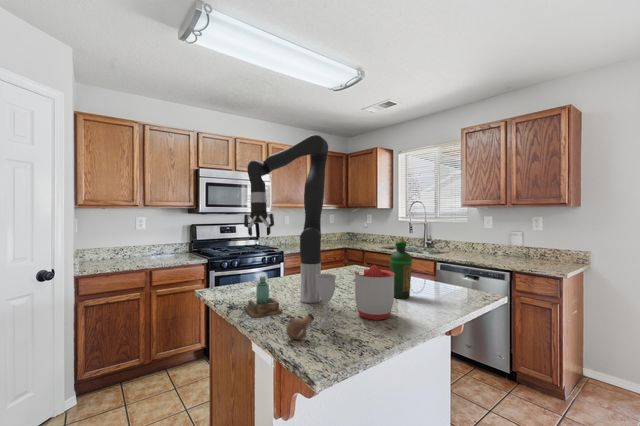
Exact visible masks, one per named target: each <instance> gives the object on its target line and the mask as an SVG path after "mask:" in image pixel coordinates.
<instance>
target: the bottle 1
mask: <svg viewBox="0 0 640 426" xmlns="http://www.w3.org/2000/svg"><path fill="white" fill-rule="evenodd" d="M255 289H256V291H255V293H256V297H255V299H256V300H255V301H256V303H255V304H256V305H260V304H267V303H269V298H270V285H269V283H268V282H267V276H266V275H259V282H258V283H257V284H256V288H255Z"/></svg>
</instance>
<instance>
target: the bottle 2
mask: <svg viewBox="0 0 640 426" xmlns="http://www.w3.org/2000/svg"><path fill="white" fill-rule="evenodd" d="M394 246H395V247H396V251H394V252H392V253H391V254H390V256H389V269H390V270H389V271H391V272H394V273H395V275H394V299H397V300H398V299H400V300H405V299H409V298H410V294H411V282H412V280H411V279H412V265H413V263H412V261H413V258H412V257H413V256H411V254H409V253H408V252H407V251H406V247H407V241H406V240H405V238H403V237H402V238H397V240H396V241H395V243H394Z"/></svg>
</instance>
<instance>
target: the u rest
mask: <svg viewBox="0 0 640 426" xmlns="http://www.w3.org/2000/svg"><path fill="white" fill-rule="evenodd" d="M243 309H244V311H245V312H246V313H247V314H249V316H251V318H254V319H255V318H260V317H267V316H272V315H280V314H283V310H282V309H281V308H280V302H279V301H277V300H276V299H274V298H273V297H269V303H267V304H260V305H256V303H255V302H254V301H253V300H252V299H250V300H248V306H244V308H243Z"/></svg>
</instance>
